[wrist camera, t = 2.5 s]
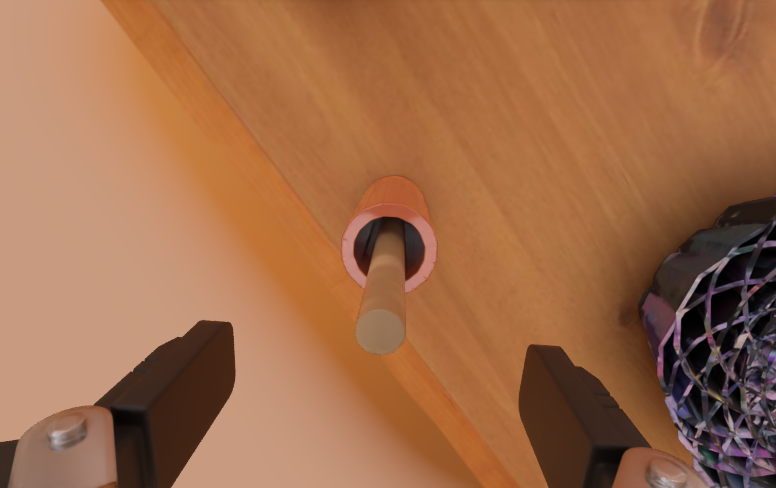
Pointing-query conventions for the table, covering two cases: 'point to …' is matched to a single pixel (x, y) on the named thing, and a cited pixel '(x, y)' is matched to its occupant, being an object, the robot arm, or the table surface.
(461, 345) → the table surface
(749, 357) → the decorative bowl
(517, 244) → the table surface
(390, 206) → the crock
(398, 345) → the stirring stick
